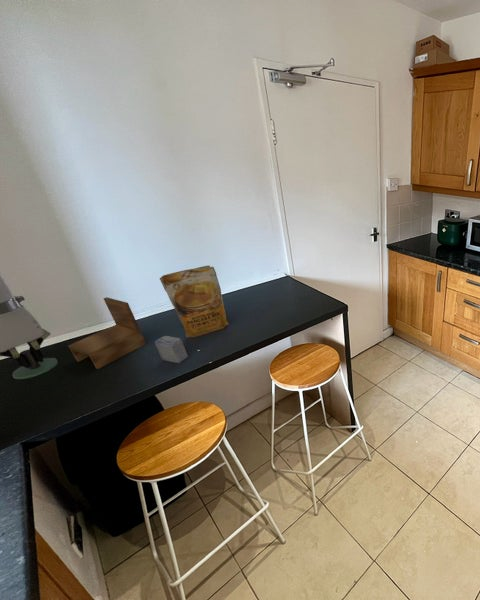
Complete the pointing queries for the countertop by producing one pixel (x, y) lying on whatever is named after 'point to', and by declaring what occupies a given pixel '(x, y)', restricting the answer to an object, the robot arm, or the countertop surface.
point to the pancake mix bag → (196, 300)
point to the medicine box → (171, 349)
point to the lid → (33, 366)
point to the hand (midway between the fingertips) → (32, 363)
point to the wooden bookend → (111, 337)
